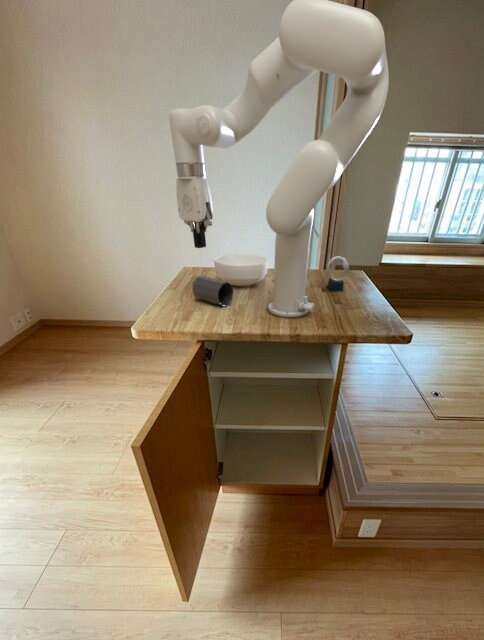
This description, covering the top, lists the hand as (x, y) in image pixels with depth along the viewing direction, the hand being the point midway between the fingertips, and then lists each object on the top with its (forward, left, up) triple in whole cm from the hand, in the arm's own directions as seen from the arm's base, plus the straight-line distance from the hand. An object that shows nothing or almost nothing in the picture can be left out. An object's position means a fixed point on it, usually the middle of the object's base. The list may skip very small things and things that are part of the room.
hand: (200, 247), depth 94 cm
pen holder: (+2, 0, -12) cm, 12 cm away
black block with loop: (-28, -39, -16) cm, 50 cm away
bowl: (+3, -22, -16) cm, 27 cm away
